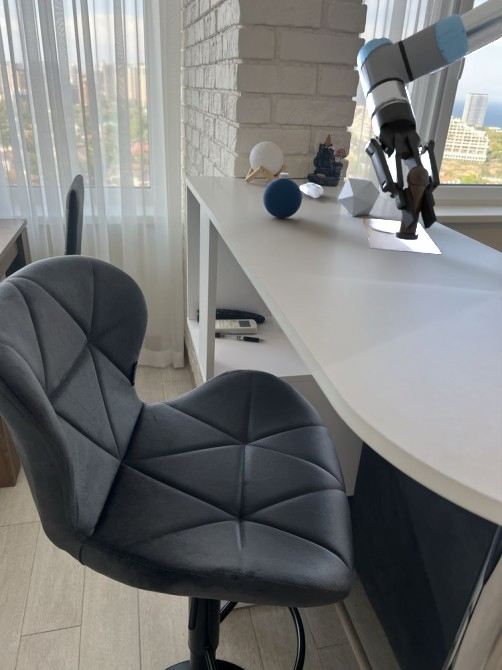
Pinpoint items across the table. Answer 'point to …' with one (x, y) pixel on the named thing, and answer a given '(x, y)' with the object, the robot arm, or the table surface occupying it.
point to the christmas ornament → (282, 197)
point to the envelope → (384, 237)
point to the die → (358, 196)
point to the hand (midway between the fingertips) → (421, 224)
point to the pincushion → (312, 189)
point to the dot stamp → (414, 200)
